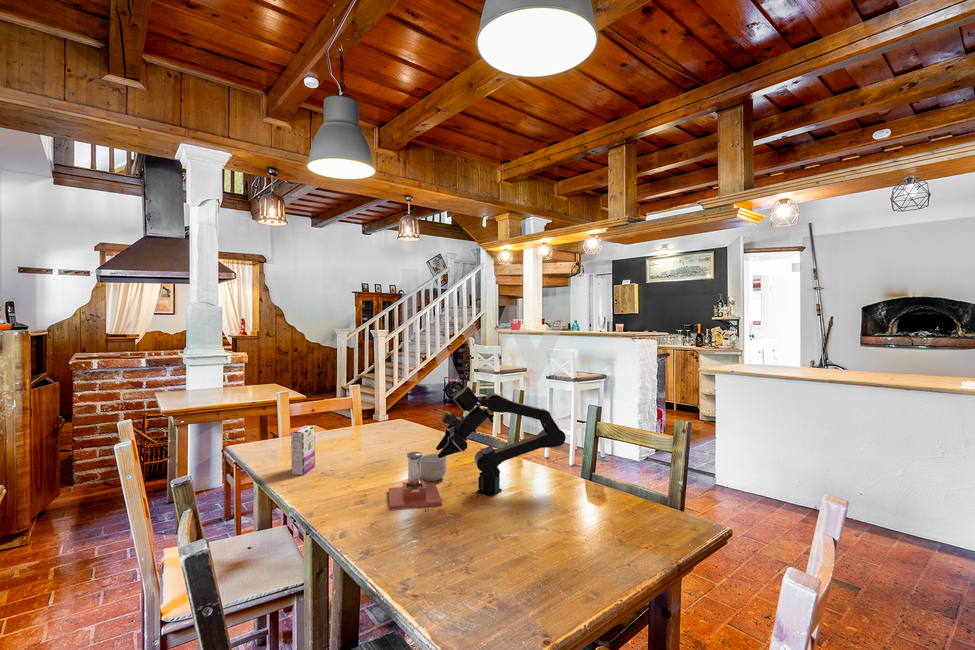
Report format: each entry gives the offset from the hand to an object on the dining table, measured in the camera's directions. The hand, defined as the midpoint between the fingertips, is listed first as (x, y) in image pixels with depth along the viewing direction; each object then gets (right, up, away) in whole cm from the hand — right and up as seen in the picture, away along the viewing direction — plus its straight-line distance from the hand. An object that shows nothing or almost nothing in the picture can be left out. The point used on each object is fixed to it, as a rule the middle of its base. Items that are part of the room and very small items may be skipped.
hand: (437, 453), depth 152 cm
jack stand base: (-7, -14, -3) cm, 16 cm away
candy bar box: (-55, -14, +24) cm, 62 cm away
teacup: (-3, -14, +18) cm, 23 cm away
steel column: (-7, -12, -3) cm, 15 cm away
